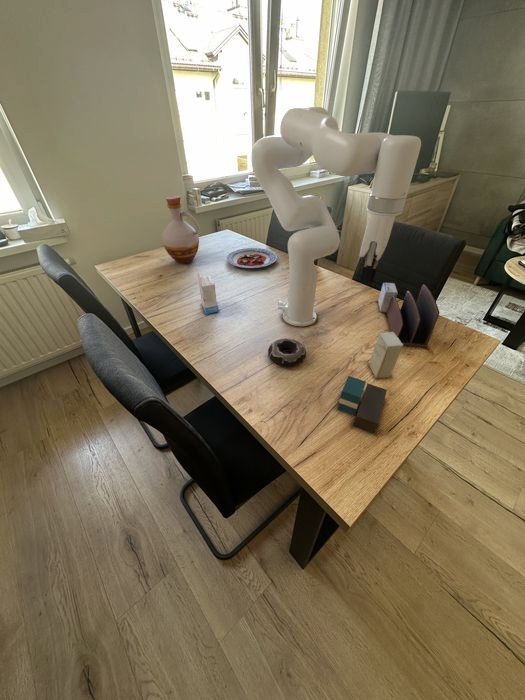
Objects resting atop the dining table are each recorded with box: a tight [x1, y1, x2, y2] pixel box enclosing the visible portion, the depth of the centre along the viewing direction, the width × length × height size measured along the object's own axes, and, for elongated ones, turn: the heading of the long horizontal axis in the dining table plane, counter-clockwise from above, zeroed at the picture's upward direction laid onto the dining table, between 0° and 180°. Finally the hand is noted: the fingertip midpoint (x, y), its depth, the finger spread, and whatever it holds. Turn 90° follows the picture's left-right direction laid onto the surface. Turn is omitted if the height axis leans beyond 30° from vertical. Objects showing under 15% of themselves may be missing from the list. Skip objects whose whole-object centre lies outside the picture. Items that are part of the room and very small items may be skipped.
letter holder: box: [386, 284, 440, 348], centre depth 97 cm, size 10×20×14 cm, turn 169°
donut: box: [267, 337, 307, 368], centre depth 89 cm, size 12×12×4 cm
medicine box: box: [377, 282, 398, 313], centre depth 110 cm, size 8×4×9 cm, turn 168°
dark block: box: [352, 382, 388, 435], centre depth 72 cm, size 5×12×4 cm, turn 152°
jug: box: [161, 195, 200, 264], centre depth 140 cm, size 20×18×30 cm
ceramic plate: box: [226, 247, 278, 269], centre depth 148 cm, size 26×26×3 cm
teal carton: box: [337, 375, 367, 417], centre depth 73 cm, size 8×6×8 cm
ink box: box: [196, 270, 219, 315], centre depth 108 cm, size 8×5×15 cm, turn 20°
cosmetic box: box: [368, 331, 404, 379], centre depth 81 cm, size 6×4×12 cm
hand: (367, 280), depth 75 cm, fingers closed
